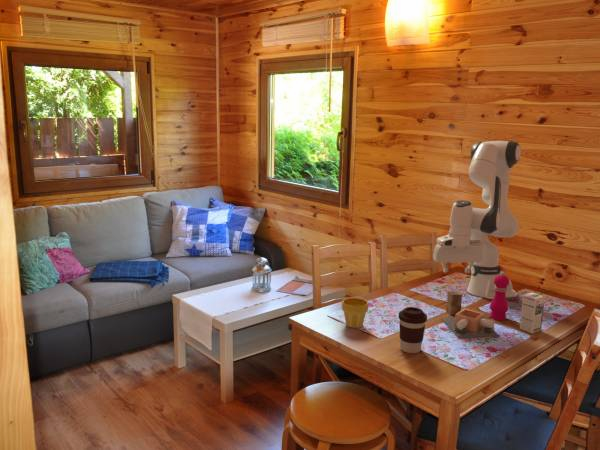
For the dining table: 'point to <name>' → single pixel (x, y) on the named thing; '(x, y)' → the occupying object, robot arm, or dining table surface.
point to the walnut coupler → (454, 302)
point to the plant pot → (354, 311)
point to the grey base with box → (470, 325)
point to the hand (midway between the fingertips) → (456, 272)
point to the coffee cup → (412, 329)
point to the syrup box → (532, 312)
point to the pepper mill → (499, 298)
